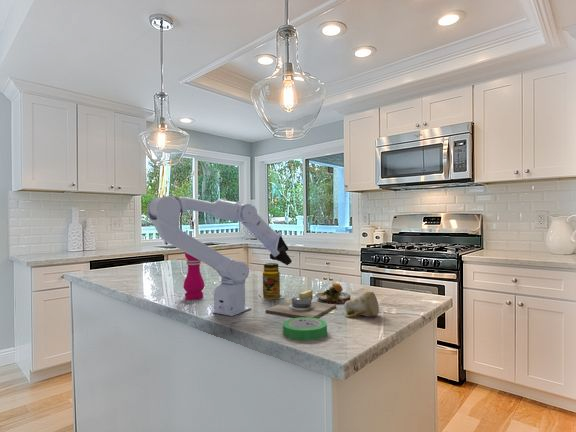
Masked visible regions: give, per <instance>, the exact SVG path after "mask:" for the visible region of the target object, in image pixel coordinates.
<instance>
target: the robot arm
mask: <svg viewBox="0 0 576 432" xmlns="http://www.w3.org/2000/svg"><path fill="white" fill-rule="evenodd" d="M227 199H228V198H225V197H221V198H219V199H216V200H215V201H213V202H211V201H208V200H202V199H197V198H192V197H187V196H171V195H166V196H163V197H162V196H161V197H160V196H158V197H157V196H156V197H154V198H152V199H151V200H150V201H149V202H148V204H147V214H148V219H149V221H150V222H151V223H152V224H153V226H154V228H155V230H156V232H157V234H158V235H159V237H160V238H161V240H163V241H164V242H166V243H167V244H169V245H171V246H173V247H174V248H177V249H178V250H180V251H182V252H184V254H185V253H187V254H189V255H191V256H193V257H194V258H196V259H198V260H200V261H201V263H204V264H205V265H207V266H209V267H211V268H212V269H213V270H214V271H215V272H217V273H218V275H219V277H220V279H221V282H220V284H219V285H218V286H216V287H215V289H214V292H213V301H214V302H213V310H211V312H212V313H214V314H218V315H225V316H230V317H234V316H236V315H238V314H241V313H244V312H246V311H249V310H251V309H252V307H251V306H246V280H247V278H248V277H249V274H250V269H249V266H248V264H247V263H246V262H245V261H237V260H234V259H233V258H230V257H228V256H226V255H224V254H222V253H220V252H218V251H217V250H215V249H214V248H212V247H210V246H209V245H207V244H205V243H203V242H202V241H199V239H197V238H195V237H193V236H191V235H189V233H188V234H187V233H186V232H185V231H183V230H181V229H180V222H179V221H180V215H181V214H184V213H186V212H188V211H193V212H198V213H199V212H201V213H209V214H211V215H212V216H213V217H214V218H215V219H220V220H227V221H233V222H237V223H238V222H239V223H241V224H242V225H243V226H244V227H245V228H246V229H247V230H248V231H249V232H250V233H251V234H252V235H253V236H254V237H255V238H256V239H257V240H258V241H259V242H260V243H261V244H262V245H263V246H264V248H265V249H266V250H268V251H269V252H270V254H269V258H270V259H271V260H272V261H273V260H274V261H278V262H280V263H282V264H284V265H286V266H289V265H290V264H291V263H293V262H292V261H293V260H292V259H291V257H290V256H289V255H288V253H287V251H289V247H288V245H287V244H286V242H285V240H284V238H283V237H282V236H283V235H282V232H281V231H280V230H277V231H275V230H274V229H273V228H272V227H271V226H270V225H269V224H268V223H267V222H266V221H265V220H264V219H263V218H262V216H260V214H259V213H258V211H257V210H258V209H257V208H256V207H257V206H255V205H252V204H251V203H241V201H239V200H236V201H230V200H227Z"/></svg>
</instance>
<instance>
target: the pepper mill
mask: <svg viewBox="0 0 576 432" xmlns="http://www.w3.org/2000/svg"><path fill="white" fill-rule="evenodd" d="M184 255H185V258H186V265H187V273H186V276H185V279H184V282H183V289H184V290H185V293H184V298H185V300H188V301H194V300H195V301H196V300H197V301H198V300H201V299H203V298H204V292H203V290H204V288H205V281H204V278H203V276H202V274H201V269H200V267H201V264H202V261H200V260H198V259H196V258H194V257H193V256H191V255H189V254H187V253H185V252H184Z"/></svg>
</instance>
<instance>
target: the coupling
mask: <svg viewBox="0 0 576 432" xmlns="http://www.w3.org/2000/svg"><path fill="white" fill-rule="evenodd" d="M291 299H292V306H294V307H299V308H304V307H310V306H311V302H312V300H313V290H312V289H308V290H305V291H302V292H300V293H299V296H294V297H291Z"/></svg>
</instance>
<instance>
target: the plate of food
mask: <svg viewBox="0 0 576 432" xmlns="http://www.w3.org/2000/svg"><path fill="white" fill-rule="evenodd" d="M341 280H342V279H340V280H339V282H341ZM315 297H317V298H318V299H319V300H321V301H326V302H325V303H326V304H328V303H329V304H332V303H333V304H334V302H336V303H337V304H338V303H341V304H345V303H346V301H349V300H351V295H350V294H348V293H345V292H343V287H342V284H340V283H337V282H334V283H331V286H330V287H329V288H328V289H326V290H324V291H323V292H319V293H316V295H315Z"/></svg>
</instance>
